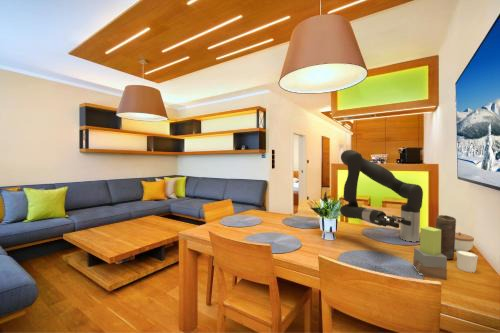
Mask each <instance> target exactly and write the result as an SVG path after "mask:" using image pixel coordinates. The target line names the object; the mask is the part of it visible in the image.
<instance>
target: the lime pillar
mask: <svg viewBox="0 0 500 333" xmlns="http://www.w3.org/2000/svg"><path fill="white" fill-rule="evenodd" d="M419 248H420V251H422V252H424V253H427V254H430V255H433V256H434V255H437V254H441V230H440V229H436V227H432V226H422V227H420V232H419Z"/></svg>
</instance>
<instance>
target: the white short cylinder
mask: <svg viewBox="0 0 500 333" xmlns="http://www.w3.org/2000/svg"><path fill="white" fill-rule="evenodd" d="M455 254H456V255H455V256H456V265H457V266H456V267H457V269H458V270H460V271H463V272H467V273H472V272H473V273H476V270H477V269H476V268H477V264H478V258H479V255H478V254H476V253H474V252H471V251H455Z"/></svg>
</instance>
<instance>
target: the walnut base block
mask: <svg viewBox="0 0 500 333" xmlns="http://www.w3.org/2000/svg"><path fill="white" fill-rule="evenodd" d="M412 260H413V261H412V263H413V264H412V266H413V265H414V266H415V267H416V269H417V270H418V272H419V273H422V274H423V275H424V276H423V277H426V278H432V279H438V278H439V280H446V281H447V280H448V278H447V276H448V273H447V271H448V269H447V268H436V267H425V266H423V265H422V264H421V263H419V262H418V261H417V260H416V259H415V258H414V256H413V259H412ZM414 266H413V267H414ZM416 269H415V270H416Z"/></svg>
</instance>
